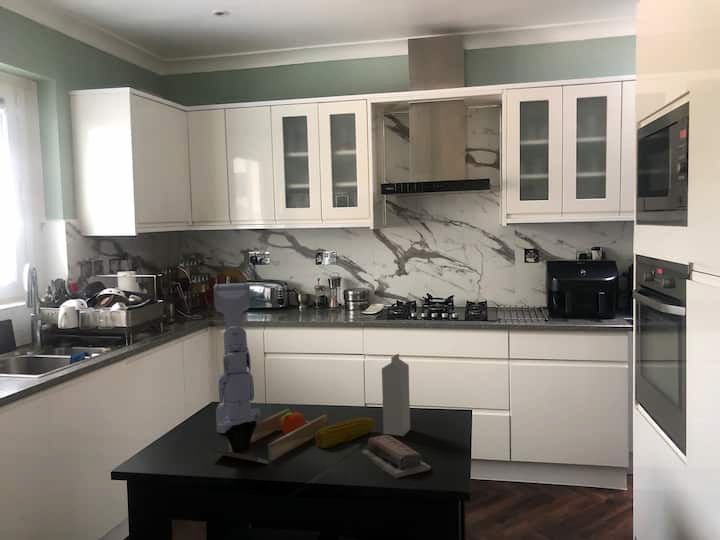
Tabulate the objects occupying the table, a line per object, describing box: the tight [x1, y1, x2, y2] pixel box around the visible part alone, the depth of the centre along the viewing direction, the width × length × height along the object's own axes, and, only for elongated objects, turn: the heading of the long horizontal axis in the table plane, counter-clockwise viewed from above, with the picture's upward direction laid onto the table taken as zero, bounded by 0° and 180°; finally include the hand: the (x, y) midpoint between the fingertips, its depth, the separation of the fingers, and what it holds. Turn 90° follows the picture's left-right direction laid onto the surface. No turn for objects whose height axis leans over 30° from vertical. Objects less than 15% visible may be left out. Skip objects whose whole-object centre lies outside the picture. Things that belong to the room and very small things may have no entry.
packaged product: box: [361, 434, 432, 478], centre depth 161 cm, size 18×5×10 cm
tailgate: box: [211, 448, 272, 465], centre depth 162 cm, size 14×1×6 cm
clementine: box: [278, 411, 306, 436], centre depth 181 cm, size 8×7×7 cm
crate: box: [227, 408, 329, 462], centre depth 176 cm, size 14×26×5 cm, turn 151°
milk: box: [381, 353, 411, 437], centre depth 182 cm, size 6×6×22 cm
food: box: [314, 416, 376, 449], centre depth 177 cm, size 21×6×6 cm, turn 137°
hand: (241, 452), depth 162 cm, fingers open, 2 cm apart
